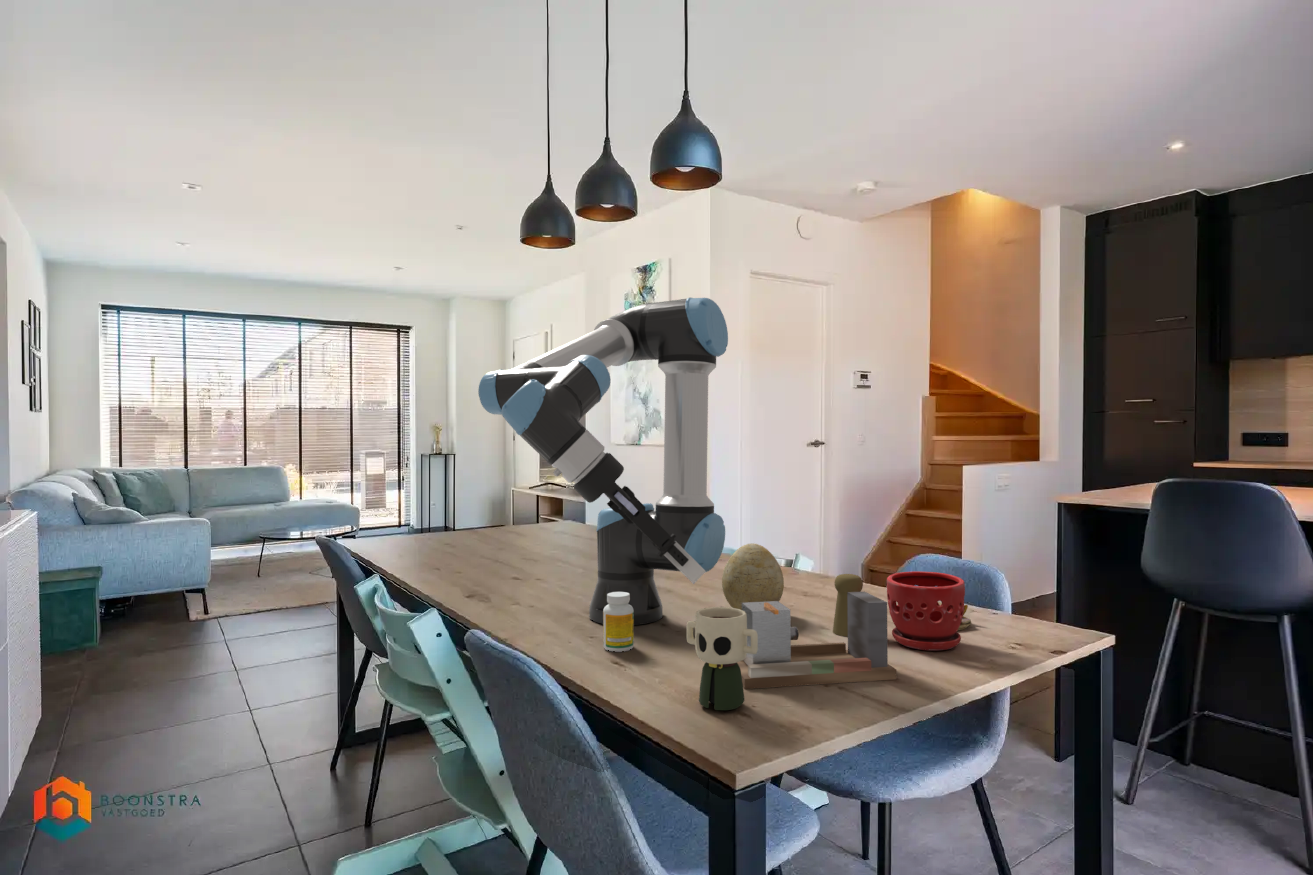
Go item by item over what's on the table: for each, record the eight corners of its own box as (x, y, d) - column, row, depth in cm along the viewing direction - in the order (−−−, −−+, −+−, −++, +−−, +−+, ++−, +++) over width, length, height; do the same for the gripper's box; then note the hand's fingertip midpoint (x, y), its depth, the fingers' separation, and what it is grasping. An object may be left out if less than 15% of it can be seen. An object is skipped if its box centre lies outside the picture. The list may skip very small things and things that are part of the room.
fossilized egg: (766, 606, 162) (766, 537, 162) (795, 620, 150) (794, 546, 150) (712, 611, 158) (712, 541, 158) (737, 625, 146) (737, 549, 146)
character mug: (674, 706, 103) (674, 613, 103) (699, 691, 109) (698, 602, 109) (746, 722, 97) (746, 623, 97) (768, 705, 103) (767, 611, 103)
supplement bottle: (598, 646, 133) (598, 592, 132) (626, 642, 135) (626, 589, 135) (610, 654, 128) (610, 598, 128) (638, 649, 130) (638, 595, 130)
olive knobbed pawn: (866, 637, 137) (866, 578, 137) (833, 636, 138) (832, 577, 138) (864, 629, 143) (863, 572, 143) (832, 627, 144) (831, 571, 144)
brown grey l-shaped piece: (725, 666, 121) (725, 595, 120) (865, 657, 124) (864, 589, 124) (744, 689, 110) (744, 611, 110) (896, 679, 114) (896, 604, 113)
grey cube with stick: (741, 658, 118) (741, 598, 118) (789, 656, 120) (789, 596, 120) (757, 675, 110) (757, 611, 110) (808, 672, 111) (808, 608, 111)
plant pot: (878, 634, 139) (878, 570, 139) (949, 634, 138) (949, 570, 138) (899, 655, 126) (898, 584, 126) (977, 655, 125) (977, 584, 125)
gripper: (569, 483, 117) (673, 586, 119) (573, 488, 104) (690, 604, 106) (603, 449, 117) (706, 552, 120) (611, 450, 105) (726, 565, 107)
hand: (698, 576), depth 113 cm, fingers closed
